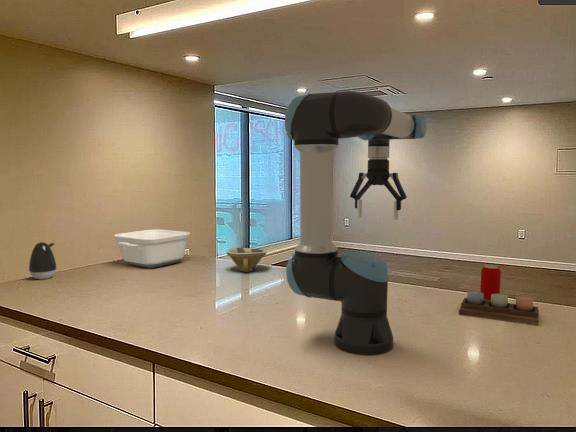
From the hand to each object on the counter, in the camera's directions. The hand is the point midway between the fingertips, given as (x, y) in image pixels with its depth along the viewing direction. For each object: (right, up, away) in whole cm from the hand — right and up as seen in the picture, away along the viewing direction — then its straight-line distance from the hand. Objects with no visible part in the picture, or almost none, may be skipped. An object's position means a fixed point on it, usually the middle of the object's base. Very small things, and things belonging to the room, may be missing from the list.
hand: (377, 218), depth 166 cm
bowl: (-51, -24, +43) cm, 71 cm away
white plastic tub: (-97, -23, +58) cm, 115 cm away
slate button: (+28, -27, -18) cm, 43 cm away
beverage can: (+38, -29, -5) cm, 48 cm away
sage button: (+34, -27, -21) cm, 48 cm away
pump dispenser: (-135, -25, +28) cm, 140 cm away
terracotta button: (+40, -27, -24) cm, 54 cm away
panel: (+34, -30, -21) cm, 50 cm away
